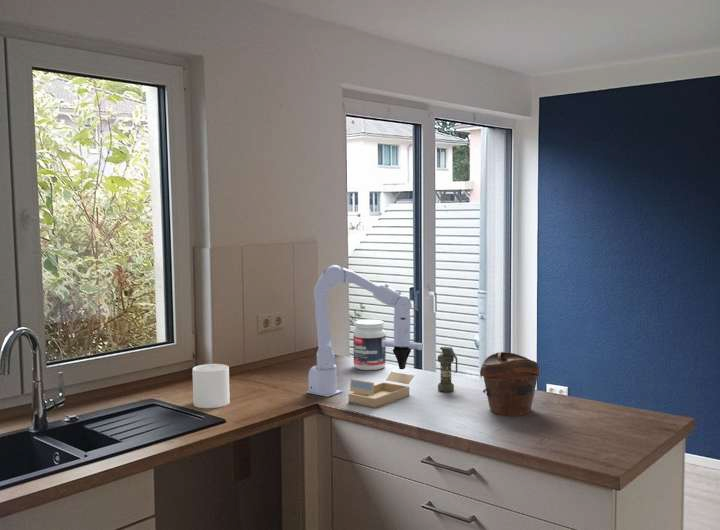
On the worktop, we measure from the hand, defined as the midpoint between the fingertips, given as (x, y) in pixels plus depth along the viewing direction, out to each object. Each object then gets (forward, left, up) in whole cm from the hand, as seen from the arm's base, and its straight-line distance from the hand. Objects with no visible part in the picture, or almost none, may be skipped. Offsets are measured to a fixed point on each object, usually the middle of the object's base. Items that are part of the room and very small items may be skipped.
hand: (402, 368), depth 250 cm
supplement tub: (-31, +22, -8) cm, 39 cm away
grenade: (+13, +9, -8) cm, 17 cm away
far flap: (0, -2, -3) cm, 3 cm away
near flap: (0, -22, -2) cm, 22 cm away
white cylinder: (-41, -50, -8) cm, 65 cm away
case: (+41, 0, -8) cm, 41 cm away
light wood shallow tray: (0, -13, -8) cm, 15 cm away
